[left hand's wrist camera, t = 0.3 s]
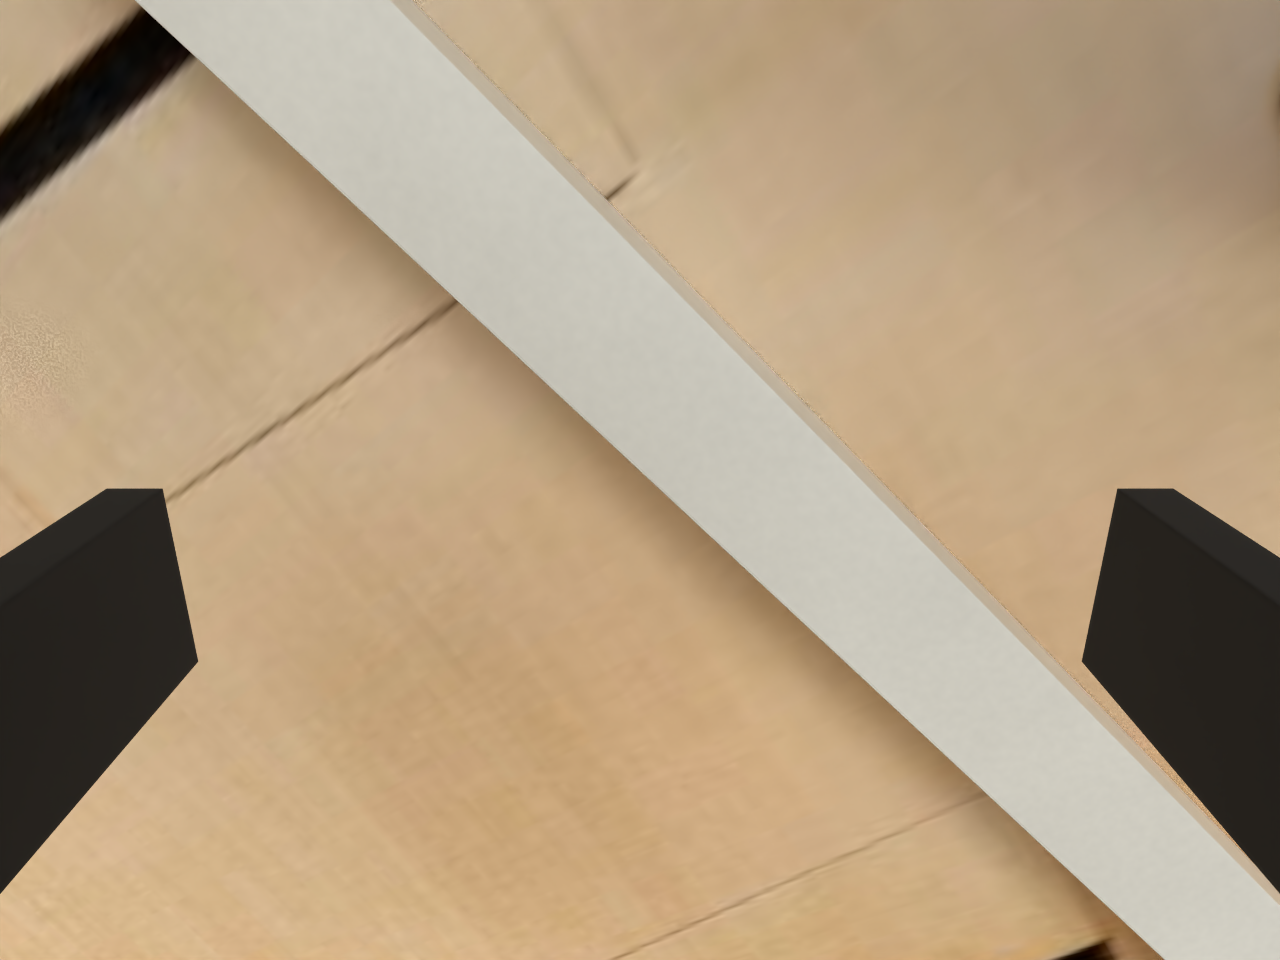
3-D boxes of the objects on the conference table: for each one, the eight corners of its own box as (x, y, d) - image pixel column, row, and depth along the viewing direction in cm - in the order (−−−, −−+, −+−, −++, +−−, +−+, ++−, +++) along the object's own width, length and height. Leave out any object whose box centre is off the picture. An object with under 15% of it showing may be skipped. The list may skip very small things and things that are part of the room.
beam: (-65, -258, 31) (-267, -374, 24) (19, -404, 30) (-171, -571, 23) (1225, 972, 52) (1315, 1100, 45) (1310, 921, 51) (1417, 1045, 44)
